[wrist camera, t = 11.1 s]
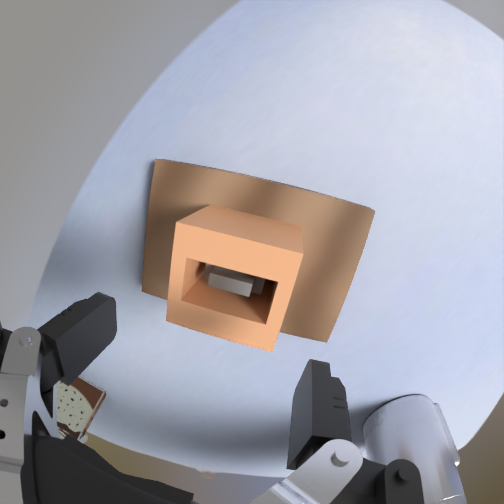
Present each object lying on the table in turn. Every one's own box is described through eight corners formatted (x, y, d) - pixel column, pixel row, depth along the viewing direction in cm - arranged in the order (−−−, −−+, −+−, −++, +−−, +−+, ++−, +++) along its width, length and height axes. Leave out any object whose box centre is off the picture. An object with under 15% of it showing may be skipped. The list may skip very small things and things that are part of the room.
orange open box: (300, 226, 19) (303, 254, 13) (279, 302, 21) (272, 351, 15) (210, 204, 19) (176, 222, 13) (197, 280, 21) (166, 320, 15)
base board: (369, 207, 19) (400, 227, 13) (325, 332, 23) (332, 384, 16) (164, 159, 20) (116, 160, 14) (149, 284, 24) (110, 320, 18)
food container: (57, 381, 33) (25, 417, 24) (51, 356, 31) (12, 393, 22) (117, 417, 33) (88, 462, 23) (114, 395, 31) (79, 445, 21)
